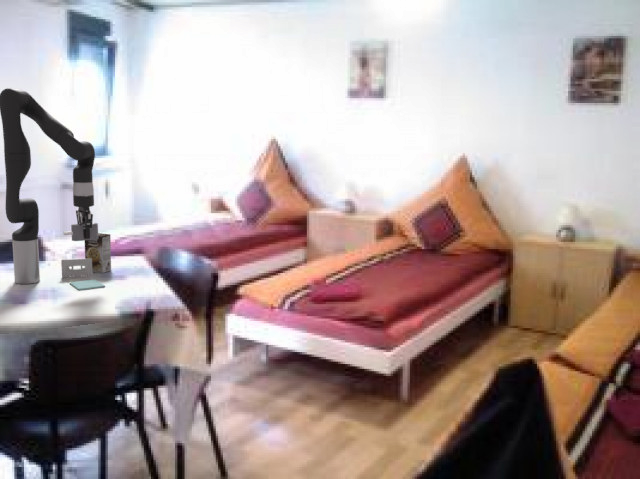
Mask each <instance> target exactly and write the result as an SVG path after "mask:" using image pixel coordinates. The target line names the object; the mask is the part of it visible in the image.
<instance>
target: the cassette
mask: <svg viewBox="0 0 640 479" xmlns="http://www.w3.org/2000/svg"><path fill="white" fill-rule="evenodd" d="M60 262H61V263H60V264H61V278H62V279H74V278H75V279H76V278H90V277H93V274H94V272H93V271H92V258H88V259H85V258H71V259H70V258H69V259H68V258H67V259H61V261H60ZM74 267H80V268H74Z"/></svg>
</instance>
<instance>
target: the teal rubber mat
mask: <svg viewBox="0 0 640 479" xmlns="http://www.w3.org/2000/svg"><path fill="white" fill-rule="evenodd" d="M69 285H70V286H72V287H73V288H75V289H76V290H78V291H84V290H85V291H86V290H92V289H93V290H94V289H101V288H105V287H106V285H104V284H103V283H102V282H100V281H99V280H97V279H95V278H94V279H87V280H79V281H69Z"/></svg>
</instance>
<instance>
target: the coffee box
mask: <svg viewBox="0 0 640 479" xmlns="http://www.w3.org/2000/svg"><path fill="white" fill-rule="evenodd" d="M111 243H112V242H111V234H110V233H103V232H101V233H100V232H98V239H96V240H84V259H88V258H92V271H93V273H99V274H104V273H107V272H111V271H112V252H111V251H112V250H111V246H112V245H111Z"/></svg>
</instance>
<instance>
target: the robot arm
mask: <svg viewBox="0 0 640 479" xmlns="http://www.w3.org/2000/svg"><path fill="white" fill-rule="evenodd" d="M21 115H24V116H26V117H28V118H30V119H31V120H33V121H34V122H35V123H36V124H37V126H38V127H39V128H40V129H41V131H42V132H43V134H45V136H47V137H48V138H49V139H50V140H52V141H53V142H54V143H56V144H57V145H58V146H59V147H60V148H61V149H62V150H63V151H64V152H65V154H66V155H68V157H69V158H71V159H72V160H75V161H77V163H76V166H75V167H74V168H73V169H72V180H73V181H72V182H73V183H72V201H73V207H76V208H77V209H76V210H75V215H76V222H77V223H76V224H83V229H84V239H89V238H90V229H91V228H92V223H93V219H94V214H93V213H92V212H91V210H90V207H94V206H95V192H94V191H95V190H94V182H93V181H94V180H93V179H94V178H93V168H94V162H95V160H96V159H95V158H96V156H95V155H96V152H95V147H94V145H93V144H92V143H91V142H90V141H87V140H86V141H80V140H78V139H76V137H75V136H74V133H73V131H71V130H70V129H69V128H68V127H67V126H65V125H64V124H62V123H61V122H59V120H57V118H55V117H54V116H52V115H51V114H50V112H48V111H47V110H45V109H44V107H43V106H41V104H39V102H38V101H36V99H35V98H34V97H33V95H31V94H30V93H29V92H27V91H26V90H24V89H22V88H21V89H20V88H12V87H10V88H8V87H7V88H5V89H3V90H2V91H1V92H0V118H1V124H2V137H3V154H4V156H3V157H4V167H5V184H6V185H5V215H6V218H7V221H9V223H11V224H21V223H23V224H22V225H21V227H20V228H18V229H17V230H14V231H13V232H12V234H11V238H12V255H13V258H12V259H13V273H14V274H13V275H14V283H15V284H19V285H29V284H36V283H39V282H40V281H41V275H40V254H39V238H38V237H39V236H38V234H39V230H40V229H39V228H40V227H39V226H40V225H39V221H40V220H39V218H40V216H39V215H40V212H39V207H38V206H39V205H38V203H37V201H36V200H35V199H33V198H30V197H29V198H20V192H21V187H22V184H23V182H24V180H25V178H26V177H27V176H28V173H29V171H30V169H31V166H32V158H31V156H32V154H31V147H30V145H29V141H28V140H27V137H26V136H25V132H24V131H23V128H22V127H23V126H22V124H21V123H22V121H21ZM87 223H88V225H87Z"/></svg>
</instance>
